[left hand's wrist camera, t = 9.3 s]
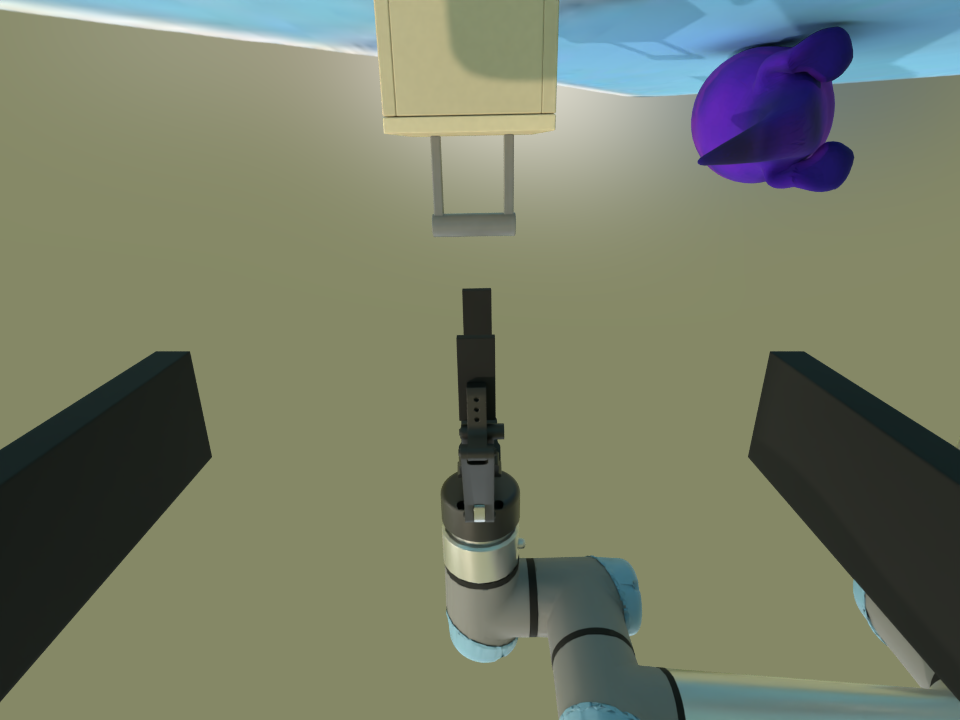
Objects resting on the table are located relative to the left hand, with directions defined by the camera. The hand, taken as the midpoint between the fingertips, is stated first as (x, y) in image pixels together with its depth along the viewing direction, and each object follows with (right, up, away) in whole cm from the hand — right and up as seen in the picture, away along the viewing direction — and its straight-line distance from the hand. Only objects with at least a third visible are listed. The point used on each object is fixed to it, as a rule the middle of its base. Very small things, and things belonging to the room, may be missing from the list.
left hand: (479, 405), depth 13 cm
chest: (-1, +25, +20) cm, 32 cm away
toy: (+32, +36, +47) cm, 68 cm away
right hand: (0, +5, +32) cm, 33 cm away
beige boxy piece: (-1, +17, +24) cm, 29 cm away
